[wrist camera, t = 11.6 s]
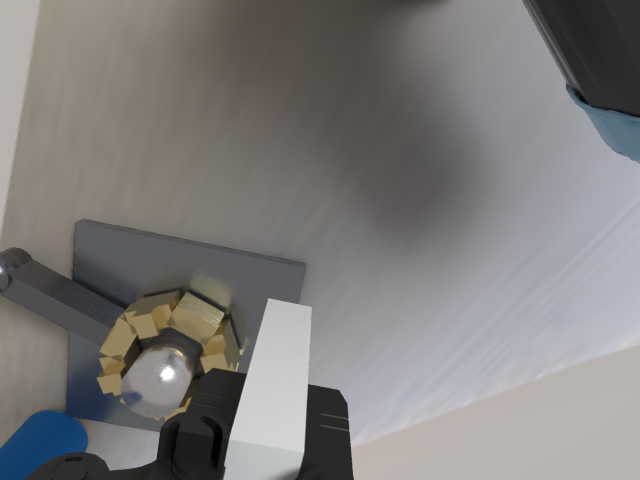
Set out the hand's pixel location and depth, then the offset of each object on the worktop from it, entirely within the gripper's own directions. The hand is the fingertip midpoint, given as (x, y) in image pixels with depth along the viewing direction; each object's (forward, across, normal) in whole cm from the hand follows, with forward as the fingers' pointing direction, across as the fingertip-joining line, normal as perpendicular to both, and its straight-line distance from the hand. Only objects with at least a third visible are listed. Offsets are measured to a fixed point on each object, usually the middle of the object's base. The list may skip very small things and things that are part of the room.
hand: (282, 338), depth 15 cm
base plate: (+24, -9, -16) cm, 30 cm away
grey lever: (+22, -14, -14) cm, 30 cm away
